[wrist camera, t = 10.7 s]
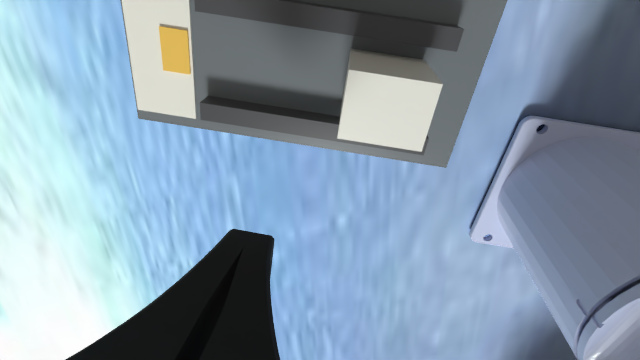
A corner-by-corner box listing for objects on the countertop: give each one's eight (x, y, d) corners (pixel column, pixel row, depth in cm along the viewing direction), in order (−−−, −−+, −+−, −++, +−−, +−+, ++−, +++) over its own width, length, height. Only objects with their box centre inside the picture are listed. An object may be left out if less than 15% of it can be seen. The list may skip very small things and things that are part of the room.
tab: (424, 59, 14) (442, 84, 11) (408, 115, 15) (421, 151, 12) (350, 48, 14) (348, 69, 11) (341, 105, 15) (337, 138, 12)
